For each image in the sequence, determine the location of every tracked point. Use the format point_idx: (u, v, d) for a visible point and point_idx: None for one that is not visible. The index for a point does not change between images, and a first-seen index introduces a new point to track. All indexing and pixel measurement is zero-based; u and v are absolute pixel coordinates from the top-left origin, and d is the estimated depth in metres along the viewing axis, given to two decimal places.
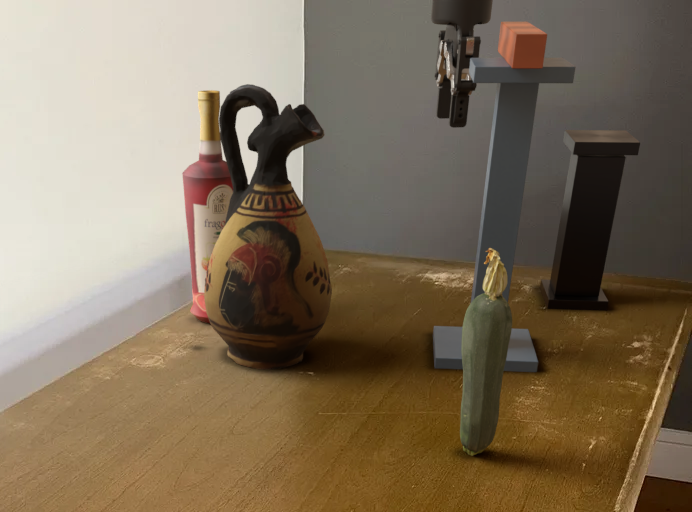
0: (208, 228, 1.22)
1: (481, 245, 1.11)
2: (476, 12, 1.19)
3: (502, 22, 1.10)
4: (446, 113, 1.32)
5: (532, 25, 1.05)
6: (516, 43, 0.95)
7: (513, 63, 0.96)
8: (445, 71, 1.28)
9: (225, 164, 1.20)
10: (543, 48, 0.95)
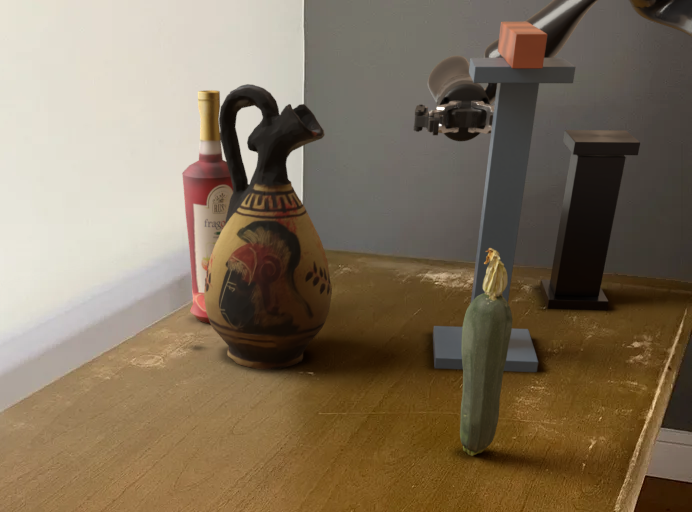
0: (208, 228, 1.22)
1: (481, 245, 1.11)
2: None
3: (502, 22, 1.10)
4: (438, 127, 1.29)
5: (532, 25, 1.05)
6: (516, 43, 0.95)
7: (513, 63, 0.96)
8: (445, 114, 1.33)
9: (225, 164, 1.20)
10: (543, 48, 0.95)
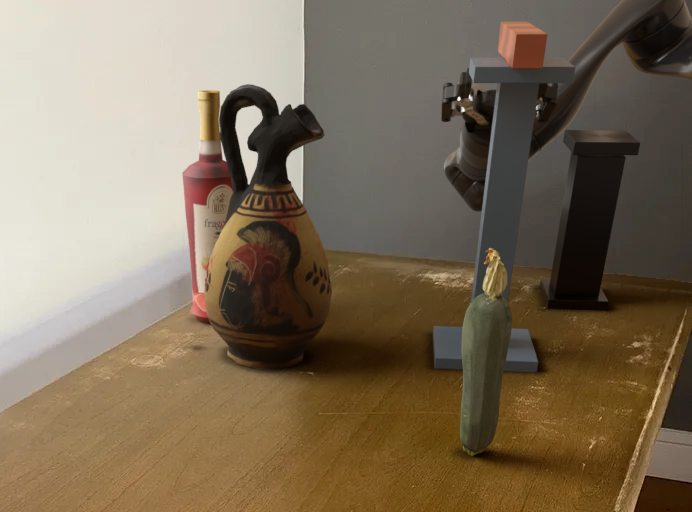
0: (208, 228, 1.22)
1: (481, 245, 1.11)
2: None
3: (502, 22, 1.10)
4: (471, 79, 1.18)
5: (532, 25, 1.05)
6: (516, 43, 0.95)
7: (513, 63, 0.96)
8: (475, 91, 1.23)
9: (225, 164, 1.20)
10: (543, 48, 0.95)
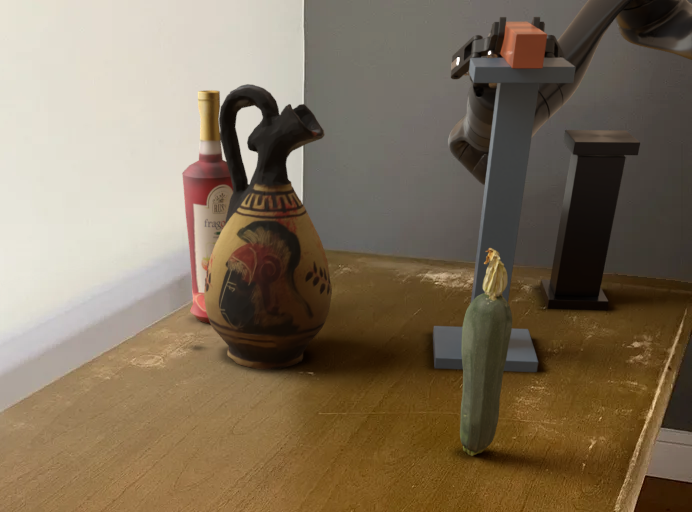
0: (208, 228, 1.22)
1: (481, 245, 1.11)
2: None
3: None
4: (504, 30, 1.06)
5: (532, 25, 1.05)
6: (516, 43, 0.95)
7: (513, 63, 0.96)
8: None
9: (225, 164, 1.20)
10: (543, 48, 0.95)
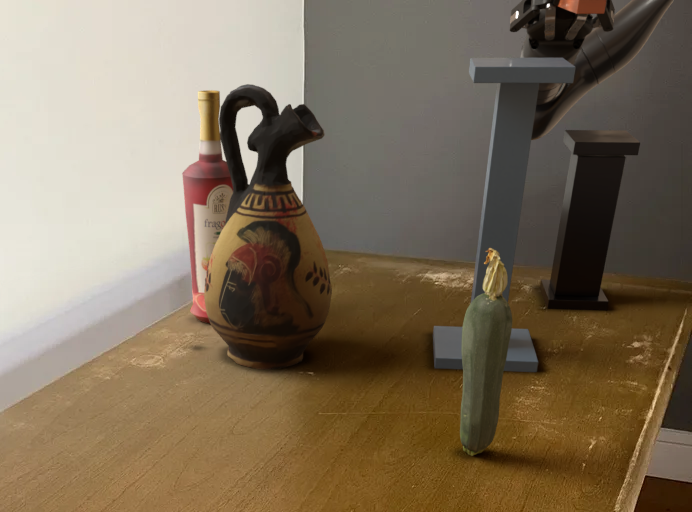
0: (208, 228, 1.22)
1: (481, 245, 1.11)
2: (581, 46, 1.29)
3: None
4: None
5: None
6: None
7: (578, 9, 1.06)
8: None
9: (225, 164, 1.20)
10: None
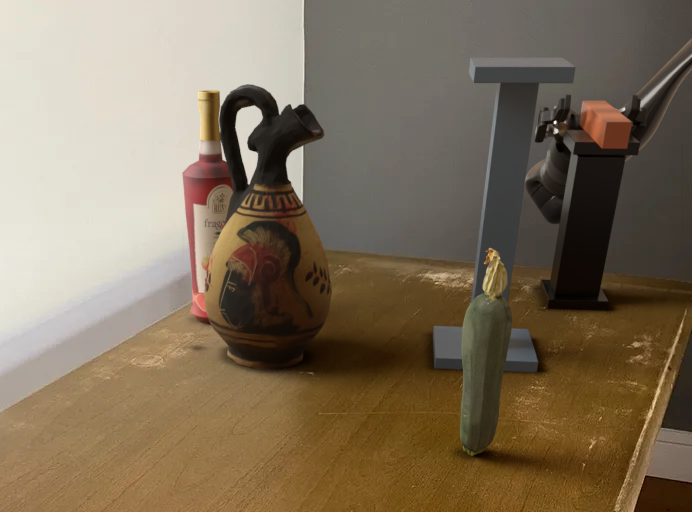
0: (208, 228, 1.22)
1: (481, 245, 1.11)
2: None
3: (584, 101, 1.31)
4: (569, 105, 1.28)
5: (612, 107, 1.26)
6: (606, 129, 1.16)
7: (603, 144, 1.17)
8: (569, 115, 1.33)
9: (225, 164, 1.20)
10: (628, 133, 1.16)
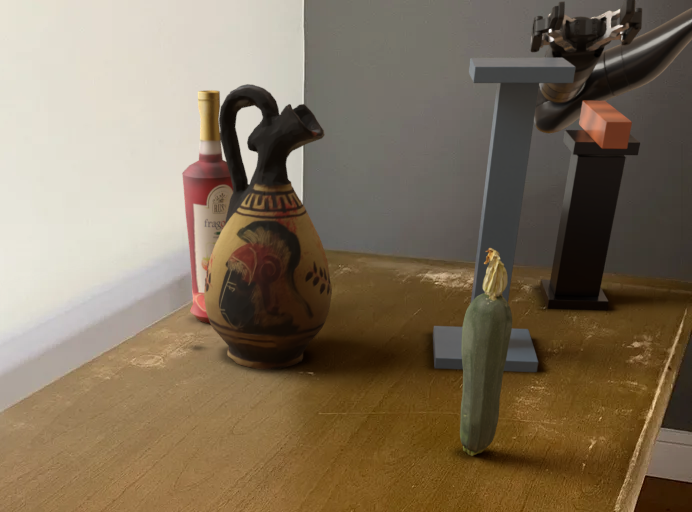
0: (208, 228, 1.22)
1: (481, 245, 1.11)
2: None
3: (584, 101, 1.31)
4: (563, 12, 1.28)
5: (612, 107, 1.26)
6: (606, 129, 1.16)
7: (603, 144, 1.17)
8: (564, 22, 1.32)
9: (225, 164, 1.20)
10: (628, 133, 1.16)
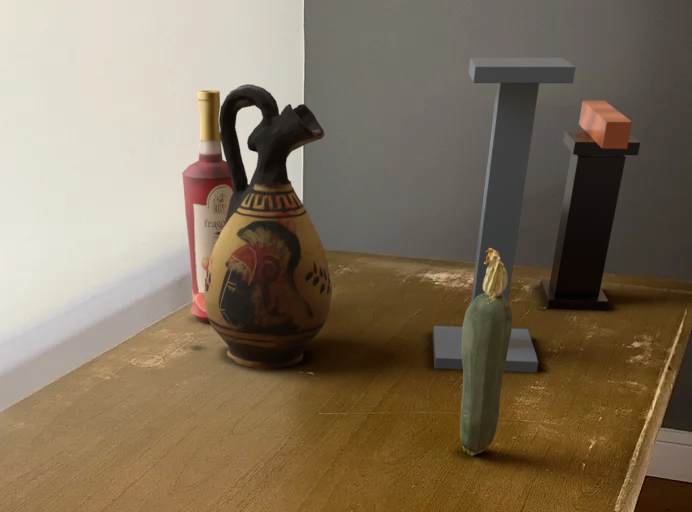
0: (208, 228, 1.22)
1: (481, 245, 1.11)
2: None
3: (584, 101, 1.31)
4: None
5: (612, 107, 1.26)
6: (606, 129, 1.16)
7: (603, 144, 1.17)
8: None
9: (225, 164, 1.20)
10: (628, 133, 1.16)
